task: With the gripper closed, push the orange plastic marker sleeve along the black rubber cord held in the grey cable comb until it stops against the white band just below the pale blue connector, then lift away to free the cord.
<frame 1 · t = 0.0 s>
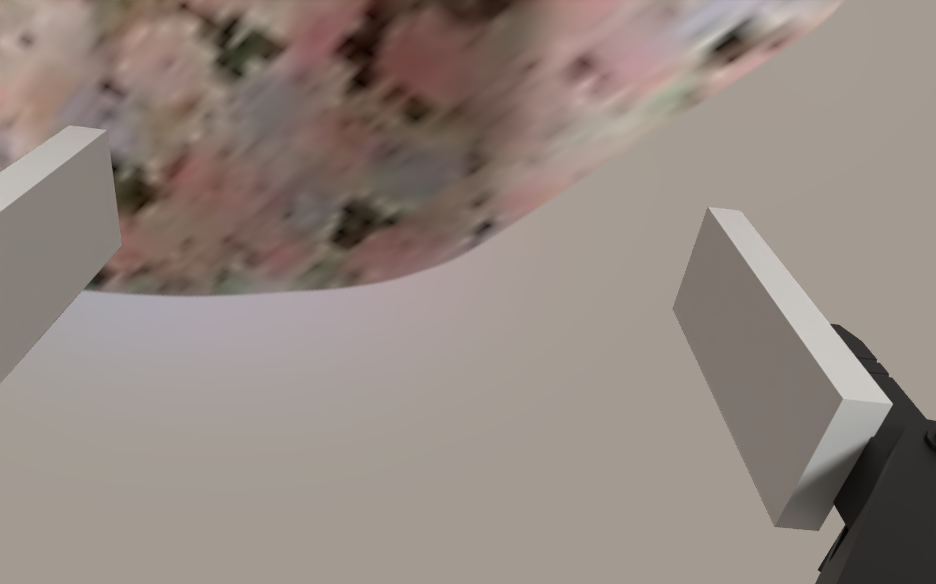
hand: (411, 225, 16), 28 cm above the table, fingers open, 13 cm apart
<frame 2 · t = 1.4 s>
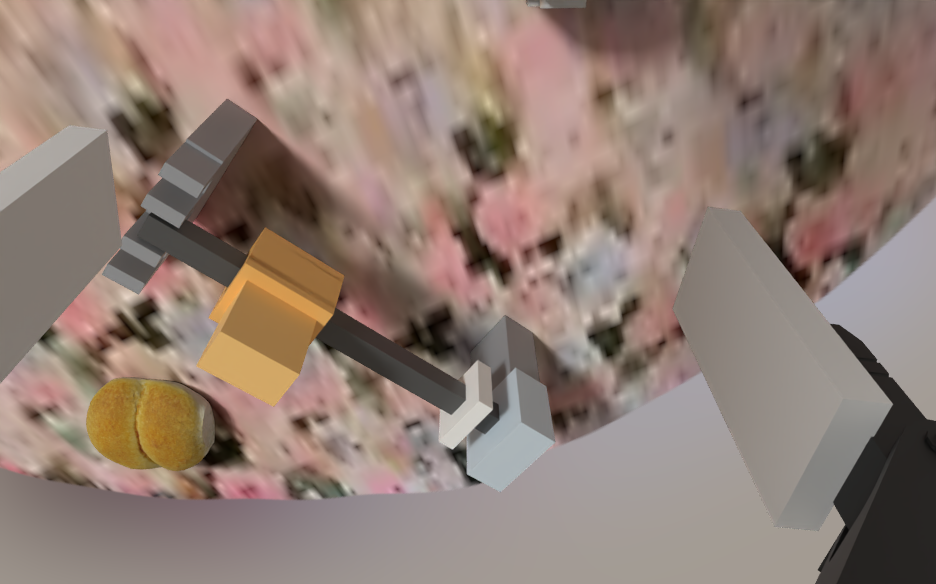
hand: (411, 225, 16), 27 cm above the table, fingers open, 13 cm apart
marker sleeve: (269, 319, 36), point 11 cm above the table, slide at 0.0 cm
cord fixture: (375, 263, 47), on the table
bread roll: (161, 411, 54), on the table
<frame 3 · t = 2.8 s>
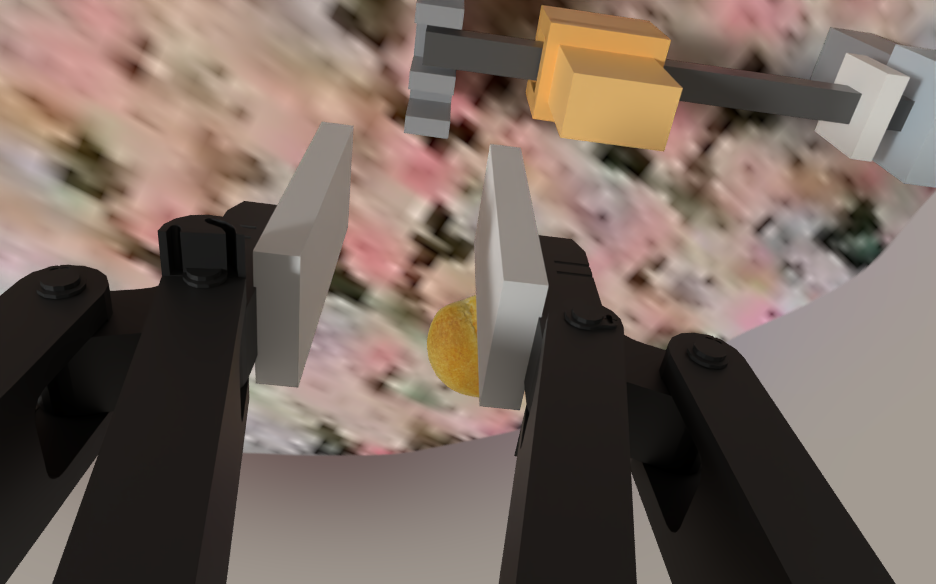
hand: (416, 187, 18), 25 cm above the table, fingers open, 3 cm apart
marker sleeve: (600, 82, 30), point 11 cm above the table, slide at 0.0 cm
cord fixture: (654, 40, 40), on the table
bread roll: (493, 330, 50), on the table
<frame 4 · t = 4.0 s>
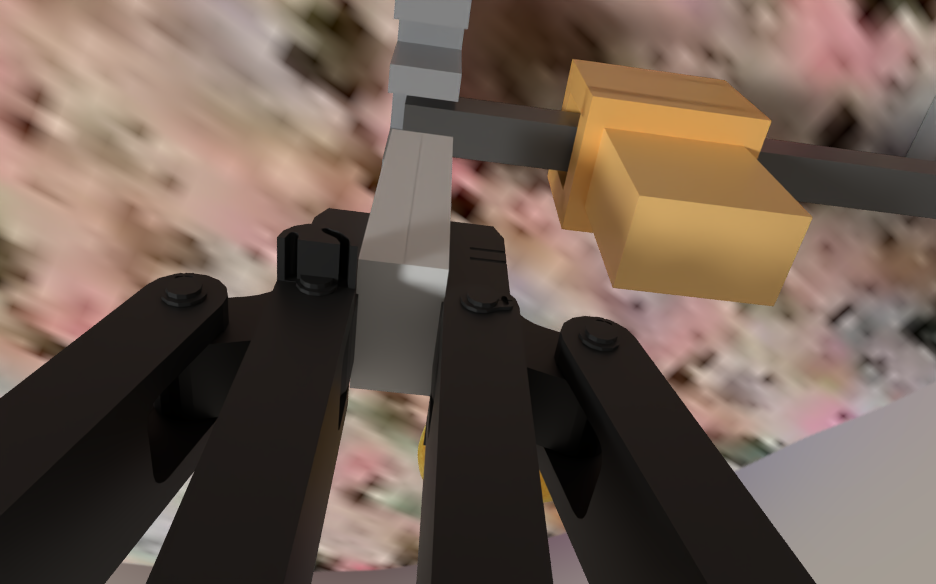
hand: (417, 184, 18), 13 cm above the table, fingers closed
marker sleeve: (664, 180, 20), point 11 cm above the table, slide at 0.0 cm
cord fixture: (713, 89, 30), on the table
bread roll: (499, 434, 41), on the table
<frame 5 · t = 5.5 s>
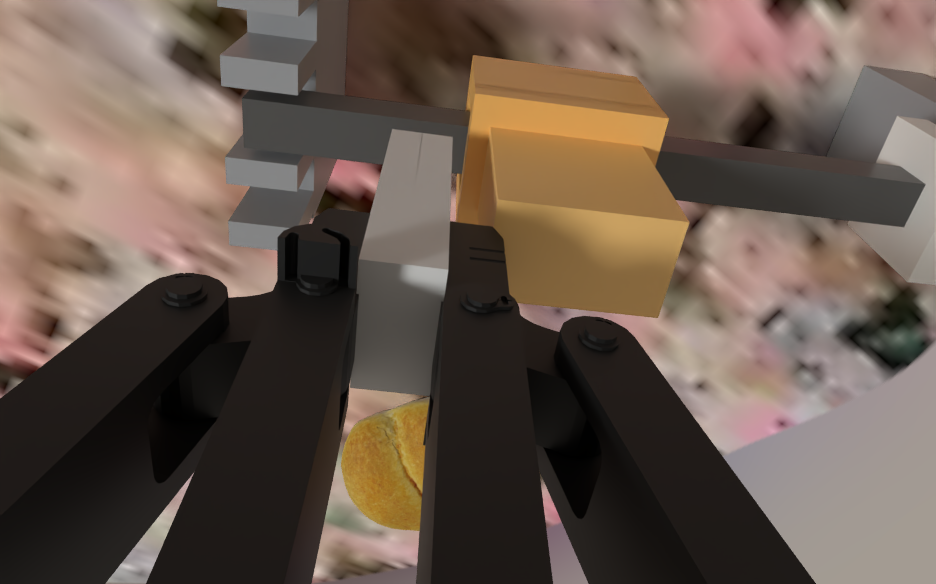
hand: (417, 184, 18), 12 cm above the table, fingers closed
marker sleeve: (558, 183, 19), point 11 cm above the table, slide at 1.1 cm, touching gripper
cord fixture: (620, 84, 29), on the table
bread roll: (429, 443, 39), on the table
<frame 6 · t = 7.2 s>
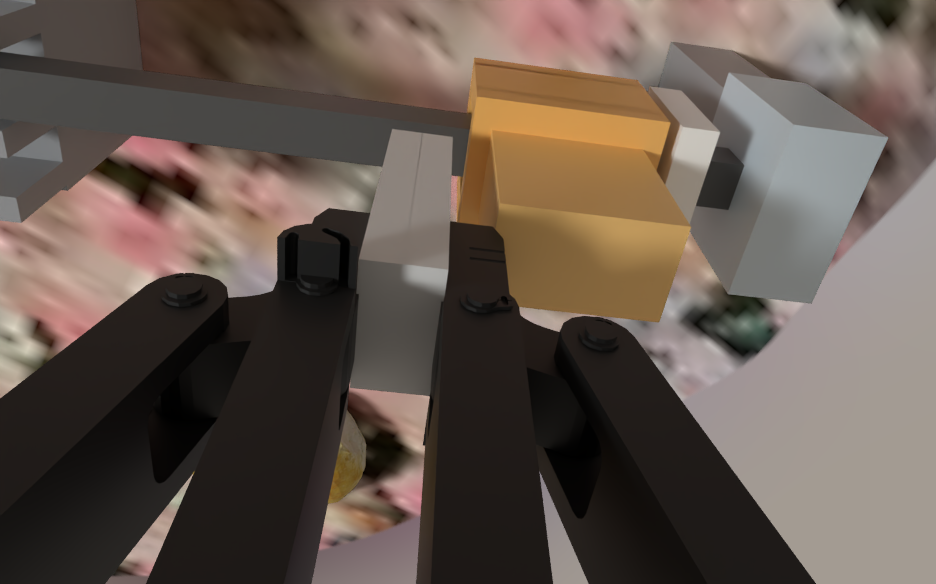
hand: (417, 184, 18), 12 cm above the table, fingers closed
marker sleeve: (559, 186, 19), point 11 cm above the table, slide at 9.1 cm, touching gripper
cord fixture: (423, 60, 28), on the table
bread roll: (285, 432, 39), on the table
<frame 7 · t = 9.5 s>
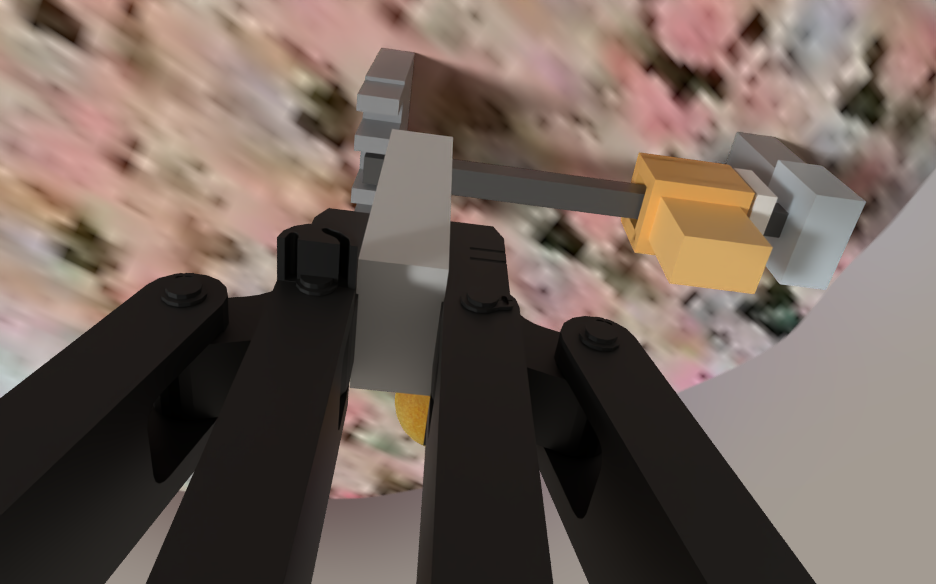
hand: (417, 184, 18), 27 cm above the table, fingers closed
marker sleeve: (694, 225, 35), point 11 cm above the table, slide at 9.3 cm
cord fixture: (581, 142, 45), on the table
bread roll: (456, 388, 55), on the table
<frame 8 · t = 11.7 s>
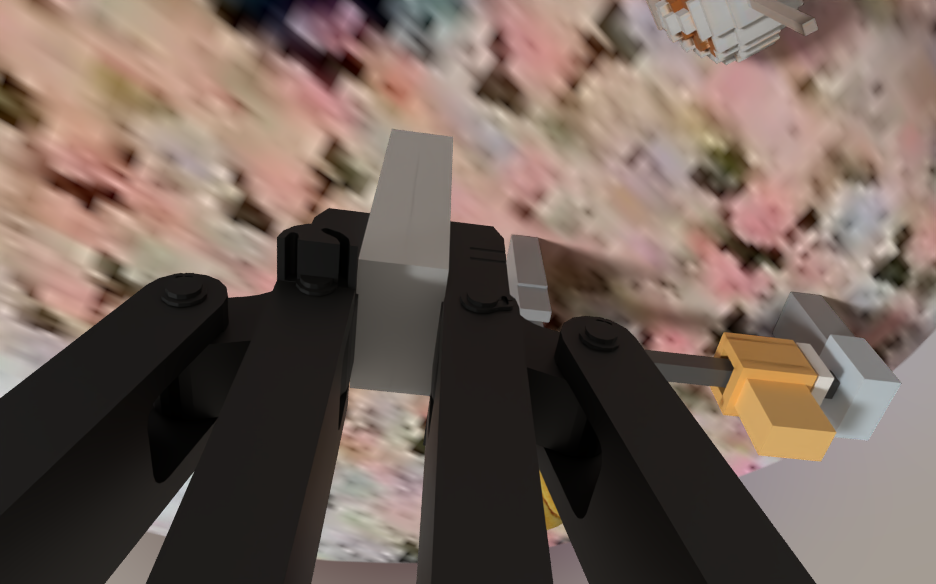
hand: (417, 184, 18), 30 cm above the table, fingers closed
marker sleeve: (770, 398, 46), point 11 cm above the table, slide at 9.3 cm
cord fixture: (665, 299, 56), on the table
bread roll: (548, 478, 66), on the table
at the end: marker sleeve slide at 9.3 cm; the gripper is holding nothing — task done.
